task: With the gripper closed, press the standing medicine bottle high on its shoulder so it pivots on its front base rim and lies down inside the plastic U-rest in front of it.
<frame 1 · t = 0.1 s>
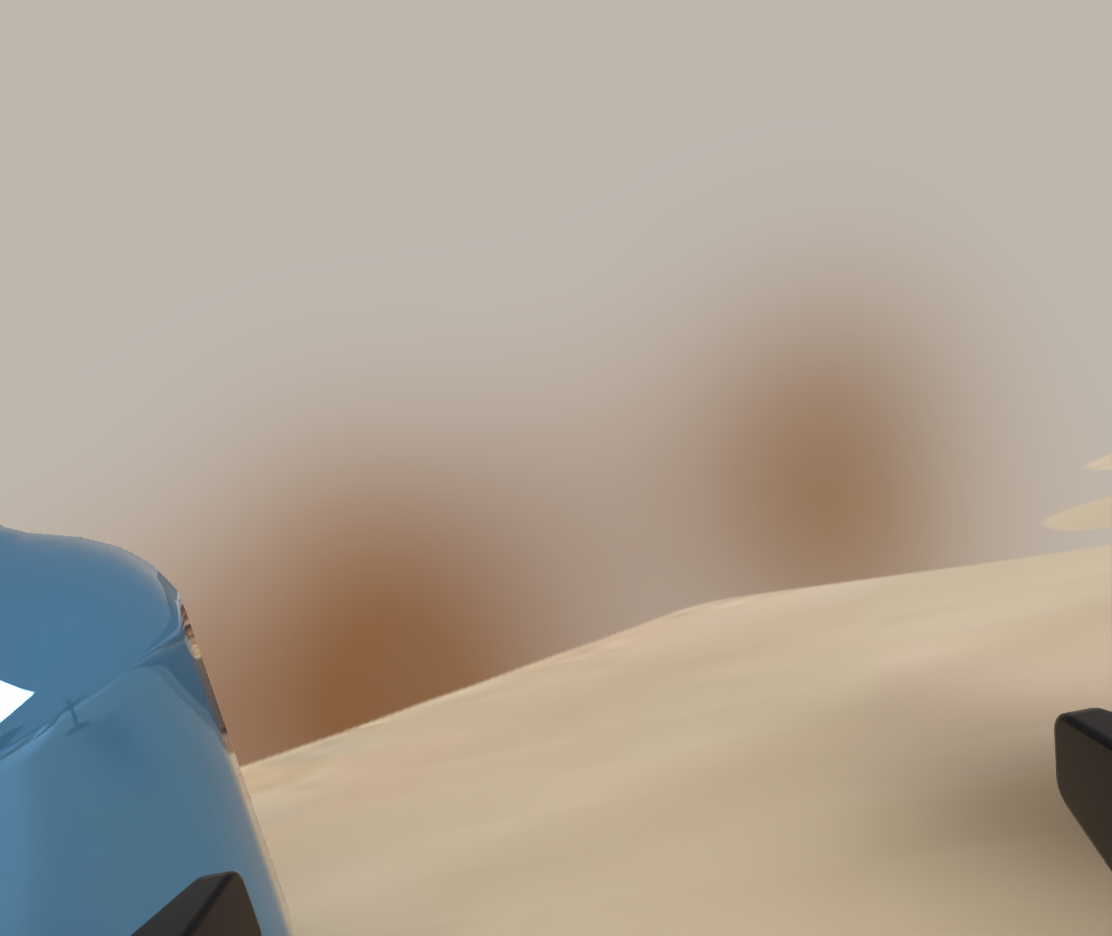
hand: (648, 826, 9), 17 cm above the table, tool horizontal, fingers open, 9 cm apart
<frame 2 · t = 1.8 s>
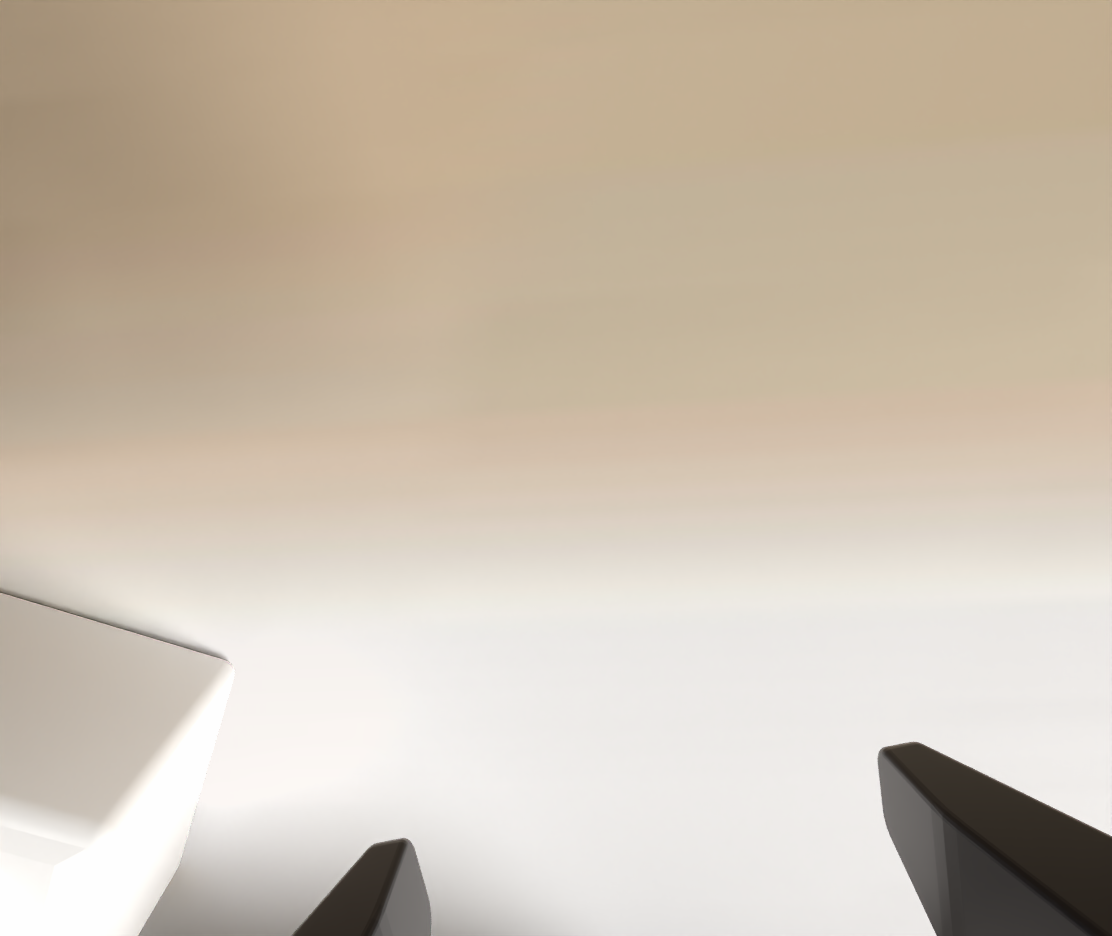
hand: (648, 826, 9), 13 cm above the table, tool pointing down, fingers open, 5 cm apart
medicine bottle: (90, 727, 23), on the table
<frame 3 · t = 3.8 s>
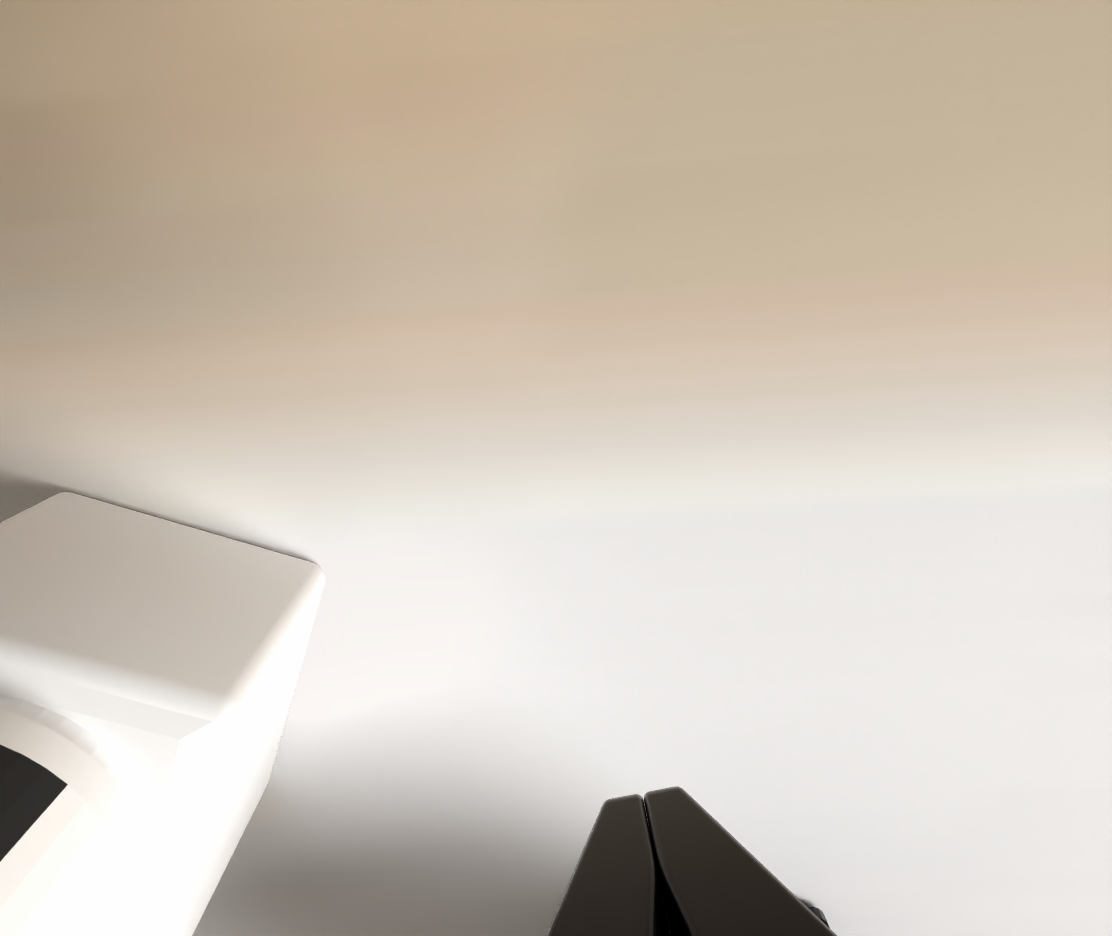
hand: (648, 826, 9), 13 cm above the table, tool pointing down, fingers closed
medicine bottle: (174, 639, 22), on the table
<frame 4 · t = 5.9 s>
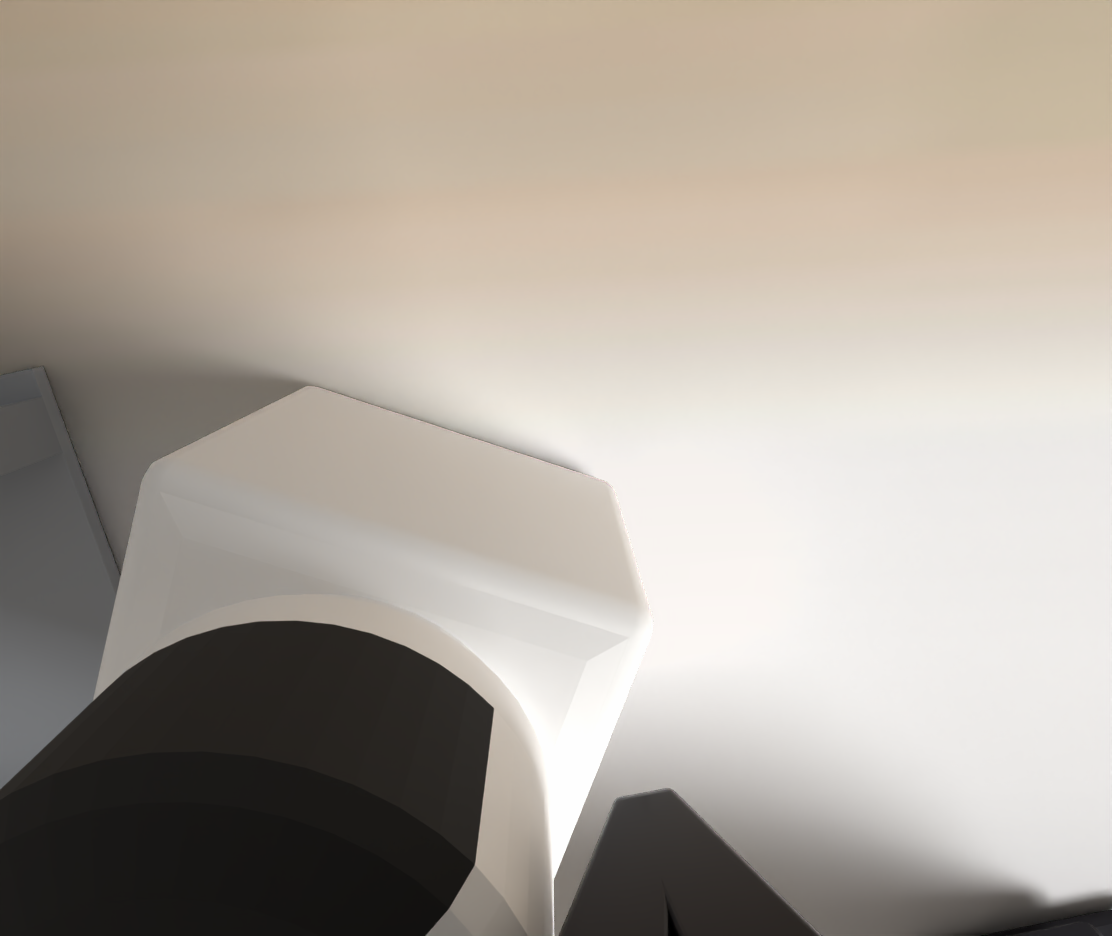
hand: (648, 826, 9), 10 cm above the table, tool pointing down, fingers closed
medicine bottle: (419, 574, 18), on the table, touching gripper
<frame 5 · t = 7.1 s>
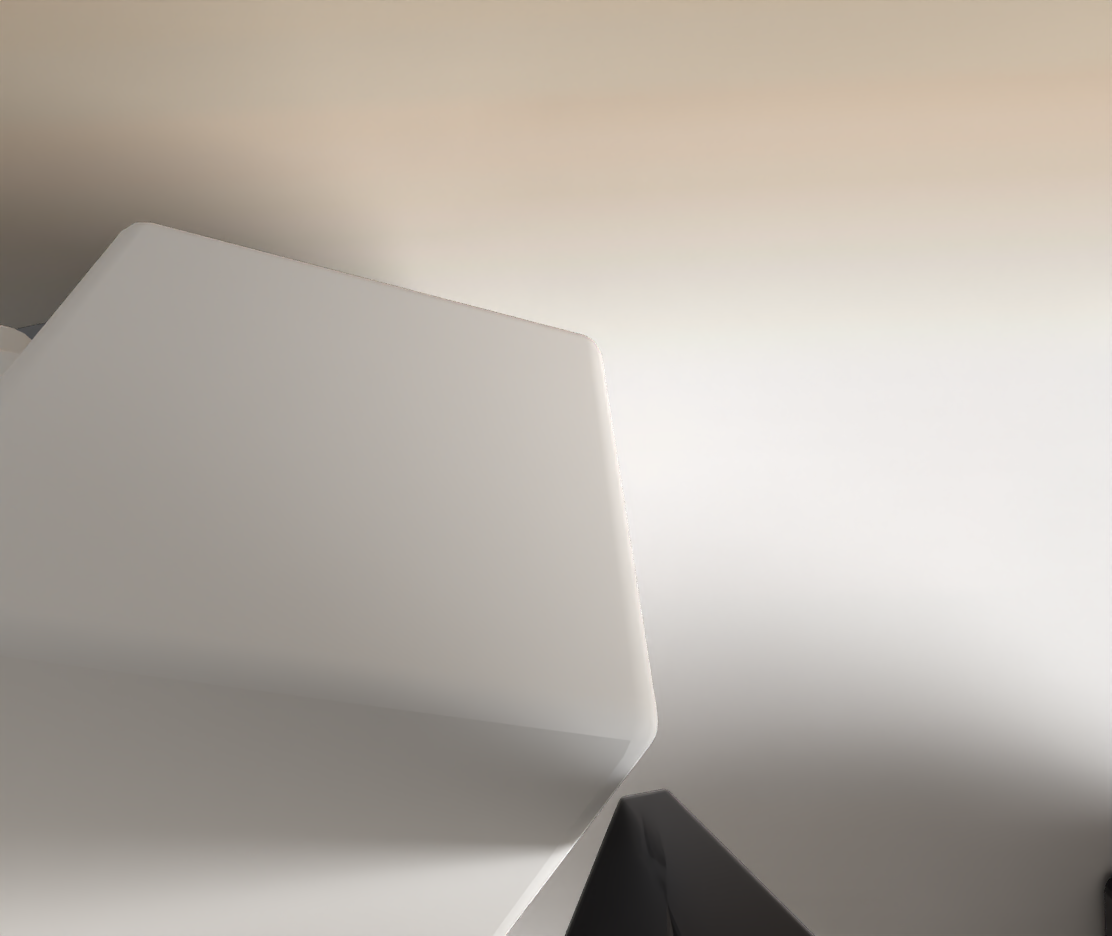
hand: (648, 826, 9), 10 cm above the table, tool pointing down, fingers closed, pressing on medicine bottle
medicine bottle: (558, 648, 12), point 6 cm above the table, touching gripper, u rest
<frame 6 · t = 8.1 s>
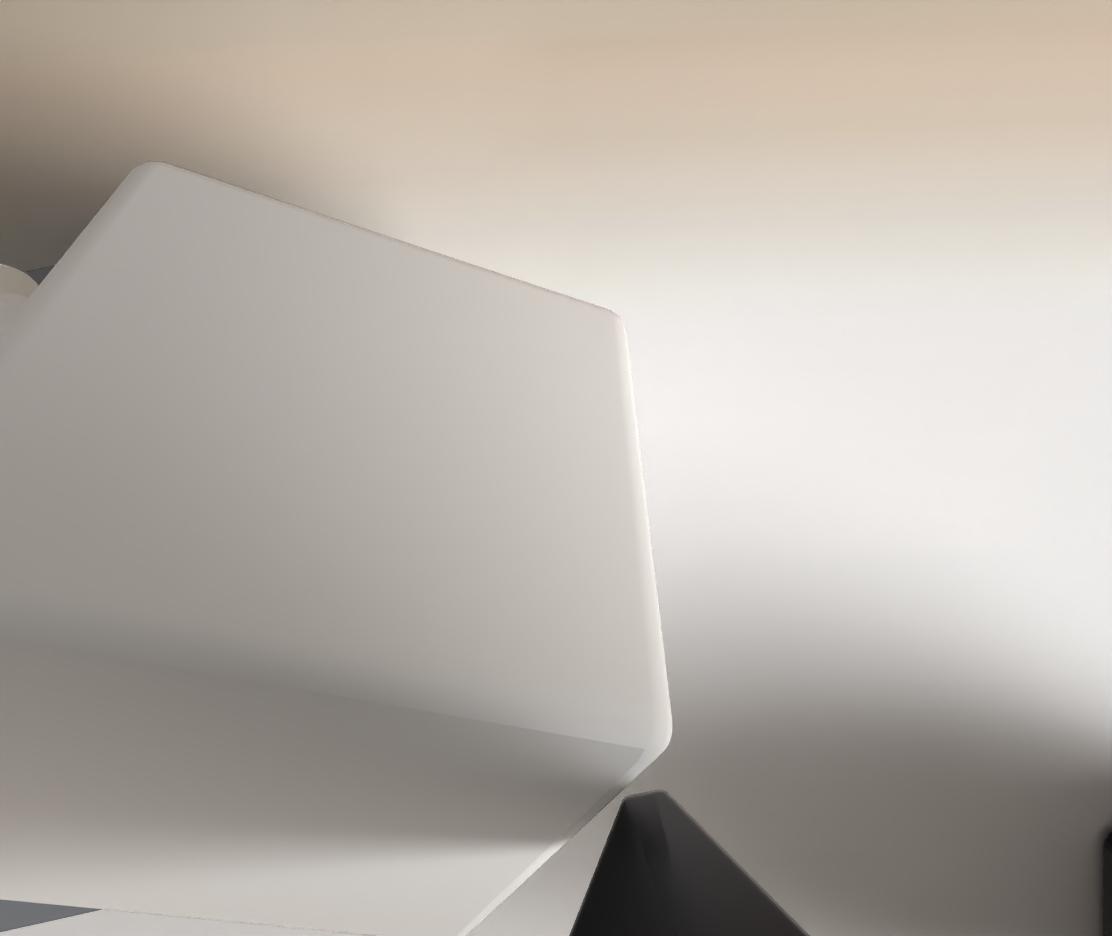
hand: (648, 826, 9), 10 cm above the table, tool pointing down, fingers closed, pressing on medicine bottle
medicine bottle: (562, 628, 12), point 6 cm above the table, touching gripper, u rest
u rest: (87, 576, 17), on the table
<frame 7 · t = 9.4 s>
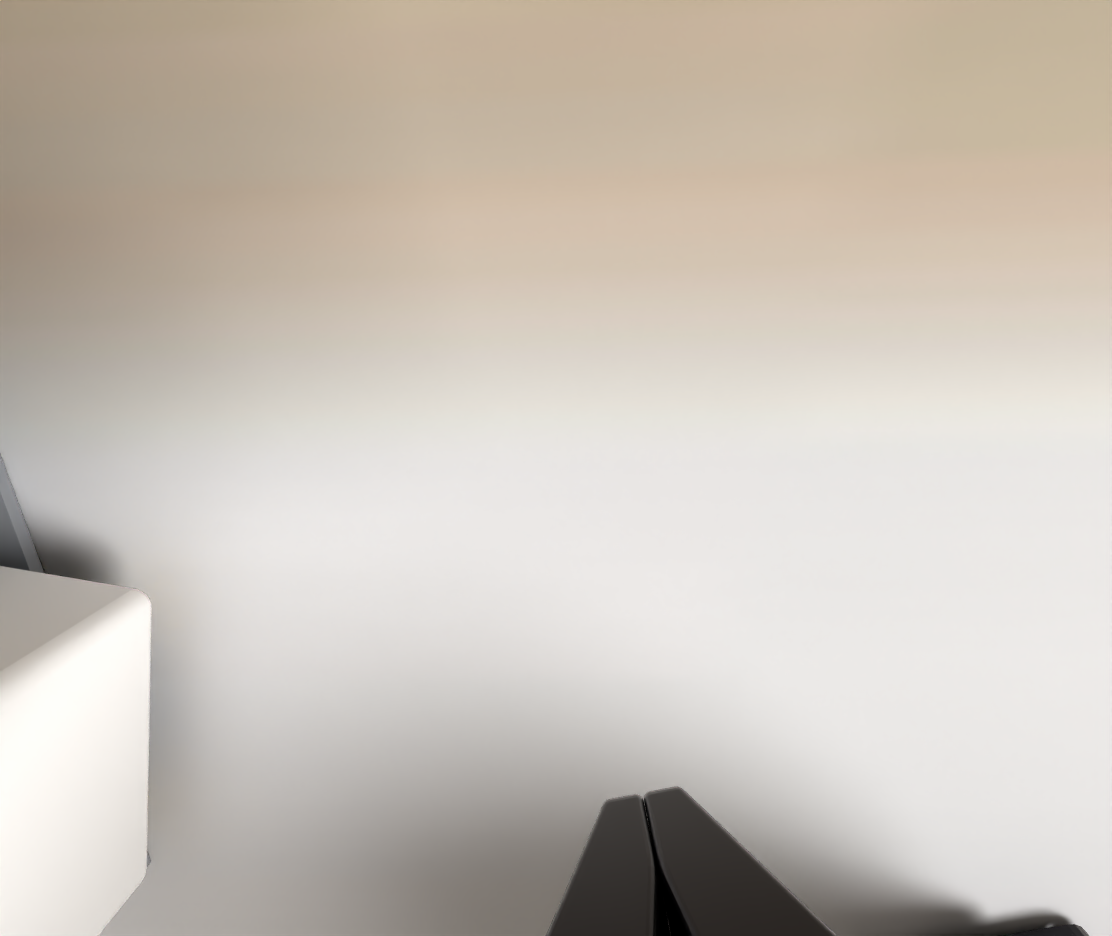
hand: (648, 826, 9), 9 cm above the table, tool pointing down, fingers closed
medicine bottle: (49, 855, 14), point 5 cm above the table, touching u rest
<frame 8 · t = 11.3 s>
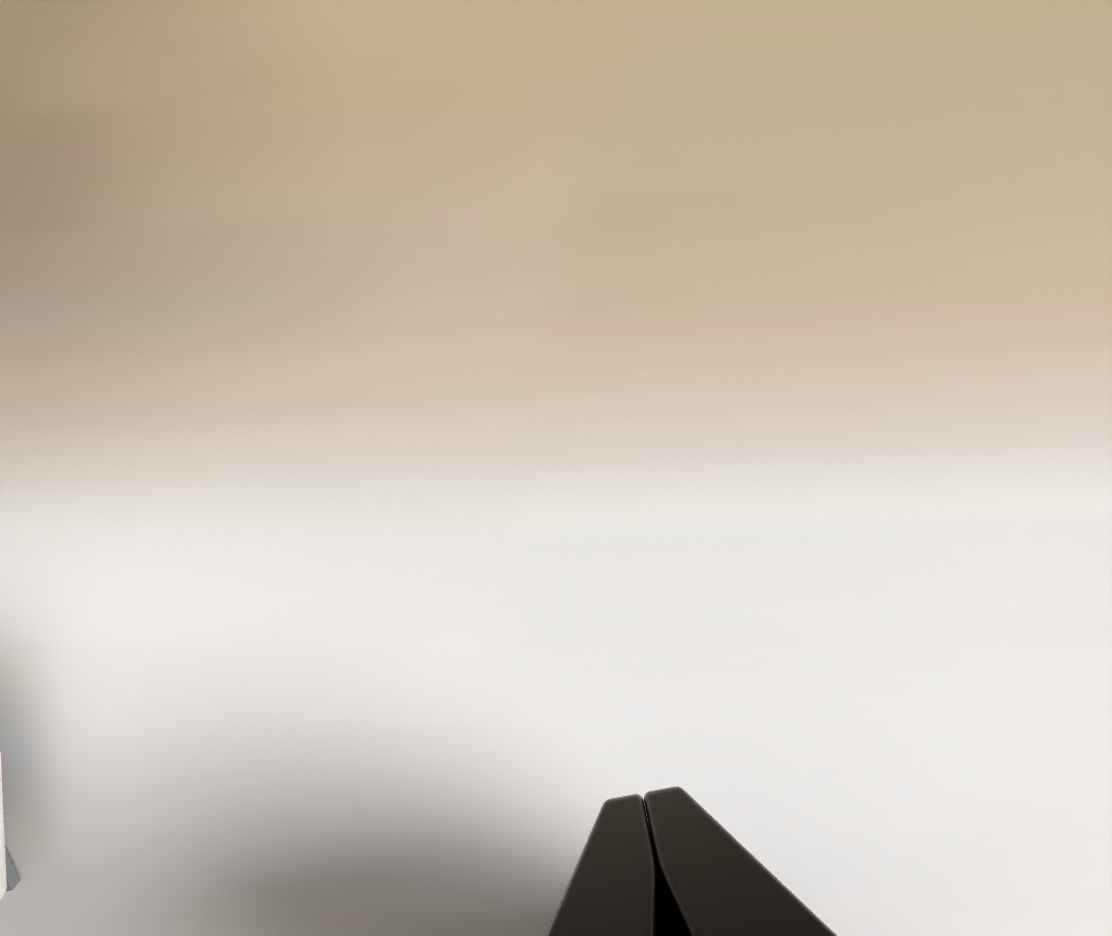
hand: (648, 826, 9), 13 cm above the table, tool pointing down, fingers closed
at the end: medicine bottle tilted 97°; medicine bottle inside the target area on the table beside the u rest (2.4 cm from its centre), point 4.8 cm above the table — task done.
